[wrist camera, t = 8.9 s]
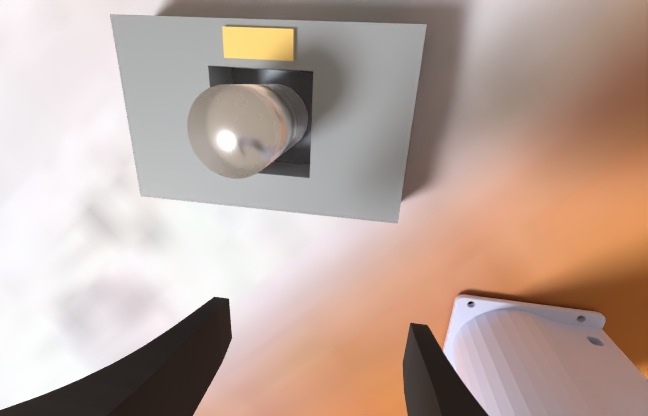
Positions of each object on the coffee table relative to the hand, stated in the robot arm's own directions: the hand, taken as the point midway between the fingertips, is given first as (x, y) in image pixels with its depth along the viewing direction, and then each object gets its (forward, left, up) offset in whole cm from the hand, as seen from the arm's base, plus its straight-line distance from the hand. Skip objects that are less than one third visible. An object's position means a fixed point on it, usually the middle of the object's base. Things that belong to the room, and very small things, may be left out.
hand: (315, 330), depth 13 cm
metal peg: (+5, -7, -10) cm, 13 cm away
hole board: (+5, -7, -10) cm, 13 cm away
